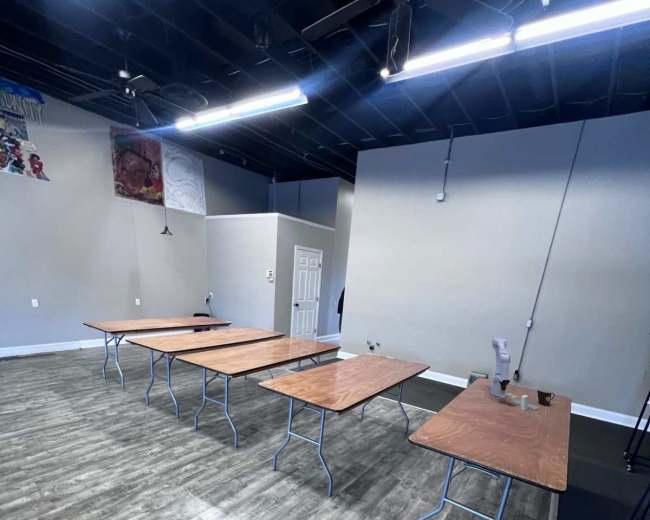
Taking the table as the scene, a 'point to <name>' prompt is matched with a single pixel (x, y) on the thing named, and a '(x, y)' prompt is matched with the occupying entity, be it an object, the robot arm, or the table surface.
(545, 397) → the coffee mug
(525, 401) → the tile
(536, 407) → the mat
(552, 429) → the table surface
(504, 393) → the turner
